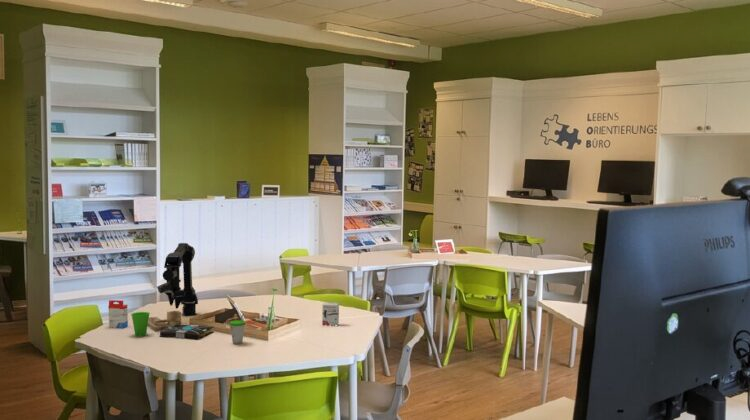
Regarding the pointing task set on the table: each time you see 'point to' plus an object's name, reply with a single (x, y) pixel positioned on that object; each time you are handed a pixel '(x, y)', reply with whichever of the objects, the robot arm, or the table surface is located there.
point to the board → (159, 325)
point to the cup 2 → (237, 330)
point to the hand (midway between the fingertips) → (174, 306)
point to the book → (187, 331)
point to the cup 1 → (140, 322)
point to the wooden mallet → (171, 318)
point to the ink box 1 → (118, 314)
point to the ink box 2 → (330, 314)
